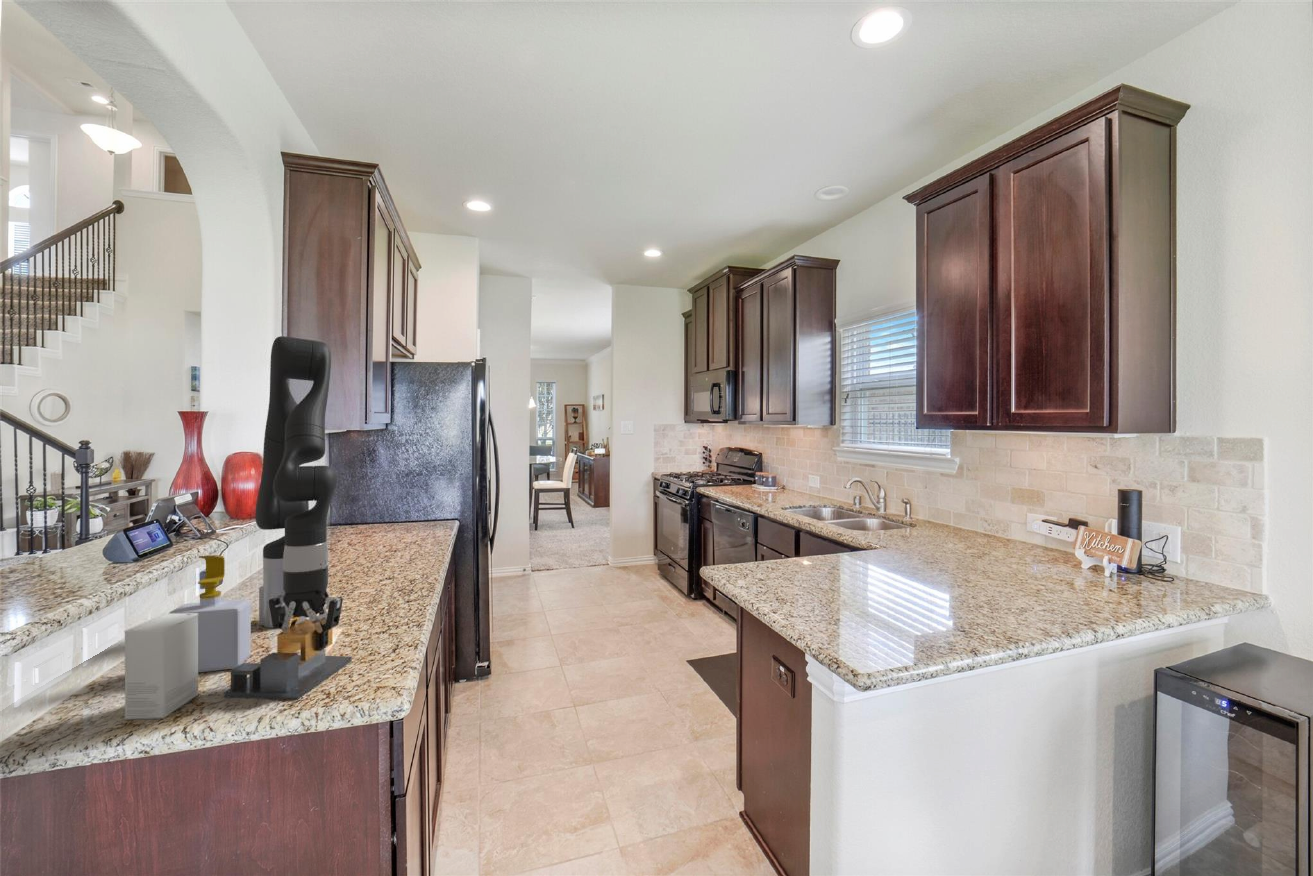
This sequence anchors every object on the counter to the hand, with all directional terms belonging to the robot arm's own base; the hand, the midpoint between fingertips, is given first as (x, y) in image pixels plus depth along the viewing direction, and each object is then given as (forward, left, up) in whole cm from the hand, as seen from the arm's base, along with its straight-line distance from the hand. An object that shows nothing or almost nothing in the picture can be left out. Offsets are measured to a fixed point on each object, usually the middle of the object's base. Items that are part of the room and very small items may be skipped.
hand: (306, 648), depth 106 cm
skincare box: (-17, -13, -6) cm, 22 cm away
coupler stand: (-2, -1, -6) cm, 6 cm away
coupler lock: (0, 0, -1) cm, 1 cm away
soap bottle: (-23, +3, -6) cm, 23 cm away
